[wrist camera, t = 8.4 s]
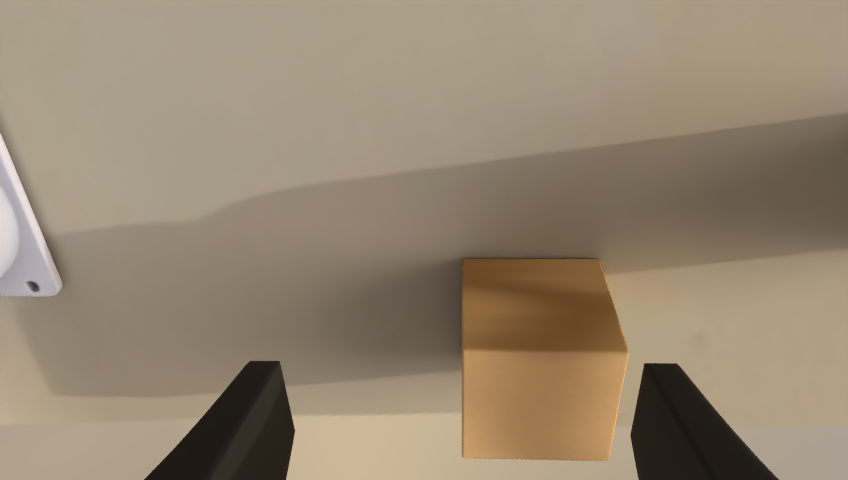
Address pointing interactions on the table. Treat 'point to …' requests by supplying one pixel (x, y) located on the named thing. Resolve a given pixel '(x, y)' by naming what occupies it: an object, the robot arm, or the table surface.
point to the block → (539, 360)
